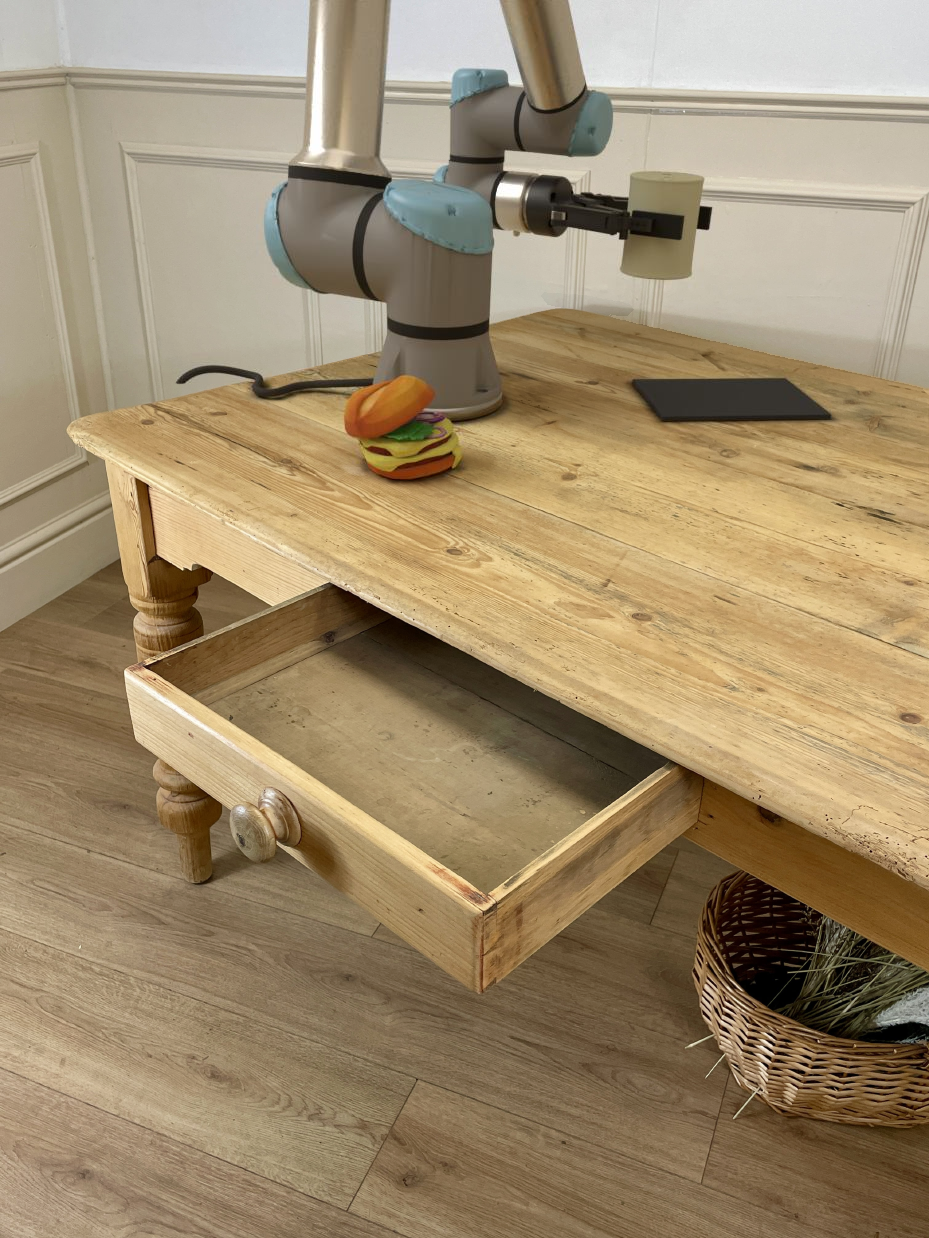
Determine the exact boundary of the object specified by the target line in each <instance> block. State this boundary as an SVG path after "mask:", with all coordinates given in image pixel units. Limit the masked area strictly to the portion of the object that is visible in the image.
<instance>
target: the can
mask: <svg viewBox="0 0 929 1238" xmlns="http://www.w3.org/2000/svg"><path fill="white" fill-rule="evenodd" d="M704 182H705V176H702V175H699V174H694V173H687V172H677V171H661V170H660V171H659V170H658V171H657V170H656V171H655V170H649V171H648V170H645V171H634V172H632V173H630V174H629V189H628V190H629V191H628V197H629V199H628V210H627V211H628V212H630V216H632V211H633V210H639V211H647V212H656V213H665V214H674V215H683V216H685V217H684V225H683V232H682V239H681V240H673V239H665V238H657V237H649V236H641V235H633V234H630V230H628V238H627V240H623V247H622V248H623V249H622V257H621V265H620V267H619V271H620V272H621V274H624V275H627V276H629V277H633V278H638V279H646V280H655V281H657V280H658V281H674V280H684V279H688V278H689V277H691V276H692V275H693V259H694V250H695V244H696V237H697V236H696V235H697V230H698V229H697V222H698V215H699V208H700V206H701V201H702V194H703V188H704Z"/></svg>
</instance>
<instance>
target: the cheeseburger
mask: <svg viewBox="0 0 929 1238" xmlns="http://www.w3.org/2000/svg"><path fill="white" fill-rule="evenodd" d="M434 396H435V392H434V390H433V389H432V388H431V387H430V386H429V385H428V384H427V383H426V382H424V381H423V380H421V379H418V378H416V377H414V376H408V375H403V376H400V377H398V378H397V379H395V380H390V381H386V382H381V383H378V384H375V385H371V386H368V387H361V388H360V389H358V390H356V391H354V393H352V394H351V395H350V397H349V398H348V399H347V402H346V404H345V410H344V414H343V422H344V423H343V424H344V430H345V432H346V434H347V435H348V436H350V437H352V438H356V439H357V443H358V445H359V446H360V448H361V451H362V454H363V456H364V458H365V461H366V464H367V468H368V469H370V470H371V471H373V472H374V473H375V474H377V475H380V476H382V477H386V478H389V479H392V480H413V479H414V480H415V479H418V478H424V477H428V476H431V475H435V474H439V473H441V472H443V471H446V470H448V469H449V468H451V469H455V468H456V467H457V465H459V463H460V461H461V459H462V457H463V450H462V446H461V445H460V444H459V435H458V434H457V433H456V432H454V428H455V425H454V424H453V422H452V421H450V420H449V419H447V418H445V416H444V415H443V414H442V413H438V412H436V411H426V412H421V411H422V410H424V409H425V408H426V407H427V406H428V405H429V404H430V403H431V401H432V400H433V398H434Z"/></svg>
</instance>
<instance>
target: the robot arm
mask: <svg viewBox="0 0 929 1238" xmlns="http://www.w3.org/2000/svg"><path fill="white" fill-rule="evenodd" d="M498 1H499V4H500V7H501V12H502V15H503V19H504V22H505V25H506V30H507V33H508V37H509V40H510V44H511V47H512V50H513V54H514V57H515V62H516V64H517V69H518V72H519V75H520V79H521V82H522V86H515V85H510V82H509V74H508V72H507V71H506V70H504V69H496V68H473V67H472V68H471V67H469V68H465V67H463V68H459V69H457V70H456V71H455V72H454V73H453V75H452V78H451V90H450V91H451V92H450V102H449V110H450V113H449V115H450V116H449V117H450V118H449V119H450V120H449V137H450V138H449V159H448V164H445V165H442V166H440V167H439V168H438V169H436V171H435V173H434V174H433V177H432V181H429V180H425V179H419V178H403V179H396V180H393V175H392V173H391V172H390V171H389V169H388V168H387V167H386V165H385V164H384V162H383V160H382V158H381V146H382V134H383V123H384V122H383V120H384V106H385V93H386V81H387V78H386V77H387V68H388V67H387V65H388V51H389V37H390V25H391V11H392V10H391V9H392V0H309V8H308V9H309V12H308V14H309V15H308V32H307V33H308V35H307V54H306V75H305V95H304V96H305V97H304V120H303V121H304V122H303V138H302V139H303V141H302V148H301V149H300V151H299V152H297V154H295V156H294V157H292V158H291V160H289V161H288V164H287V165H288V166H287V167H288V169H287V180H286V181H284V182H282V183H279V185H277V186H276V187H275V188H274V189H273V191H272V193H271V198H269V199H268V200H267V202H266V204H265V205H266V206H265V209H264V215H263V233H264V240H265V246H266V248H267V249H266V250H267V252H268V254H269V257H270V259H271V262H272V263H273V265H274V266H275V268H277V269H278V272H279V274H280V275H281V276H282V278H284V279H285V280H286V281H287V282H288V283H290V284H291V285H293V286H296V287H298V288H302V289H306V290H308V291H309V290H310V291H313V292H314V293H317V294H320V295H336V296H337V295H338V296H342V297H350V298H354V299H361V300H368V301H373V302H378V303H379V302H380V303H385V304H386V336H385V340H384V344H383V346H382V349H381V352H380V356H379V360H378V363H377V367H376V370H375V373H374V377H372V378H370V377H369V378H346V379H345V378H344V379H320V380H319V379H317V380H305V381H297V382H292V383H289V384H285V385H283V386H282V385H281V386H279V387H275V388H262V385H263V384H264V378H263V376H262V374H260V373H259V372H256V371H252V370H247V369H243V368H238V367H233V366H228V365H217V364H212V365H211V364H209V365H202V366H201V365H200V366H197V367H194V368H192V369H189V370H187V371H186V372H184V373H183V374H182V375H181V376H179V378H178V379H177V380H176V382H175V384H177V385H184V384H186V383H187V382H188V381H190V380H192V379H193V378H195V377H198V376H201V375H205V374H223V375H231V376H236V377H240V378H245V379H249V380H253V381H254V382H253V384H252V386H251V390H252V393H254V395H255V396H259V397H264V398H273V397H274V398H275V397H279V396H280V397H281V396H283V395H285V394H289V393H292V392H297V391H302V390H310V389H332V388H333V389H334V388H335V389H337V388H339V389H340V388H365V387H368V386H371V385H375V384H378V383H381V382H386V381H390V380H395V379H397V378H398V377H400V376H403V375H408V376H414V377H416V378H418V379H421V380H423V381H424V382H426V383H427V384H428V385H429V386H430V387H431V388H432V389H433V390H434V392H435V396H434V398H433V400H432V401H431V403H430V404H429V405H428V406H427V407H426V408H425V409H424V410H422V411H421V412H426V411H436V412H438V413H442V414H443V415H444V416H445V418H447V419H449V420H450V421H451V422H453V421H454V422H455V421H464V420H470V419H476V418H480V417H484V416H486V415H489V414H491V413H493V412H495V411H497V410H498V409H499V408H500V407H501V406H502V403H503V391H504V390H503V382H502V379H501V376H500V371H499V367H498V364H497V360H496V357H495V353H494V349H493V346H492V342H491V338H490V316H491V298H492V297H491V296H492V271H493V270H492V269H493V250H494V247H495V238H494V230H500V231H510V232H511V231H512V235H513V236H514V237H520V235H521V233H523V234H533V235H535V236H542V237H549V238H559V237H561V236H562V235H563V234H564V233H565V232H566V231H567V229H568V228H571V229H577V230H583V231H588V232H593V233H599V234H606V235H609V236H616V235H618V240H620V241H624V240H627V238H628V230H630V234H633V235H641V236H649V237H657V238H665V239H673V240H681V239H682V232H683V225H684V217H685V216H683V215H674V214H665V213H656V212H647V211H639V210H633V211H632V216H630V212H628V211H627V210H628V199H629V196H616V195H611V194H602V193H593V192H590V191H581V192H580V193H574V189H573V185H572V183H571V181H570V180H569V178H568V177H566V176H562V175H553V174H552V175H551V174H539V173H535V172H526V171H518V170H517V171H516V170H504V165H505V164H504V163H505V162H506V161H505V159H506V156H505V155H506V151H507V152H508V151H509V152H522V153H535V154H542V155H543V154H544V155H553V156H563V157H568V158H584V157H585V158H588V157H593V158H594V157H597V156H599V155H601V154H602V153H603V151H605V149H606V147H607V145H608V143H609V141H610V138H611V134H612V131H613V125H614V124H613V123H614V108H613V104H612V101H611V98H610V97H608V94H607V93H606V92H603V91H597V90H596V89H591V90H590V89H588V85H587V80H586V76H585V73H584V67H583V64H582V59H581V53H580V49H579V44H578V40H577V35H576V29H575V25H574V20H573V16H572V11H571V7H570V2H569V0H498ZM712 213H713V206H707V205H700V208H699V215H698V222H697V229H696V230H703V231H709V230H710V227H711V221H712Z"/></svg>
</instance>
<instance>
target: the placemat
mask: <svg viewBox="0 0 929 1238" xmlns="http://www.w3.org/2000/svg"><path fill="white" fill-rule="evenodd" d="M631 384H632V386H633V387H634V388H635V390H636V391H638V393H639V394H640V395H641V397H642V398H643V399H644V401H645V402H646V403H647V404H648V406H650V408H651V409H652V410H653V412H654V413H655V414H656V416H658V418H659V419H660V420H661V421H662V422H714V421H717V422H718V421H719V422H720V421H725V422H727V421H791V420H792V421H793V420H795V421H796V420H797V421H801V420H831V419H832V413H830V412H829V411H828V410H827V409H826V408H824V407H823V406H821V405H820V404H819V403H818V402H816V401H815V400H814V399H813V398H811V397H810V396H809V395H808V394H807V393H805V392H804V391H802V390H801V389H800V388H799V387H798V386H796V385H795V384H794V383H792V382H791V381H790V380H788V379H787V378H786V377H748V378H747V377H745V378H743V377H740V378H738V377H737V378H735V377H734V378H732V377H729V378H721V377H720V378H633V379H631Z"/></svg>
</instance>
